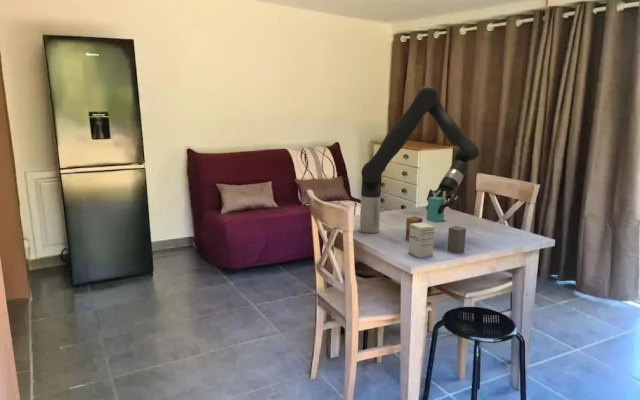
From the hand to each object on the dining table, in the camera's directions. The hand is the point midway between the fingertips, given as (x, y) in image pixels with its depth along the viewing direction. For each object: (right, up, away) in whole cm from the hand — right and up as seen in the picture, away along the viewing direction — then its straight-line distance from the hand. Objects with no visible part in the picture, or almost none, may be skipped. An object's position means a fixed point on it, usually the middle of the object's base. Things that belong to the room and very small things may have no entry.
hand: (433, 211), depth 212 cm
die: (+13, -6, +49) cm, 51 cm away
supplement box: (-7, -18, -9) cm, 21 cm away
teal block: (+1, -4, +2) cm, 5 cm away
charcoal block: (+9, -17, -4) cm, 19 cm away
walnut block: (-6, -13, +12) cm, 19 cm away
